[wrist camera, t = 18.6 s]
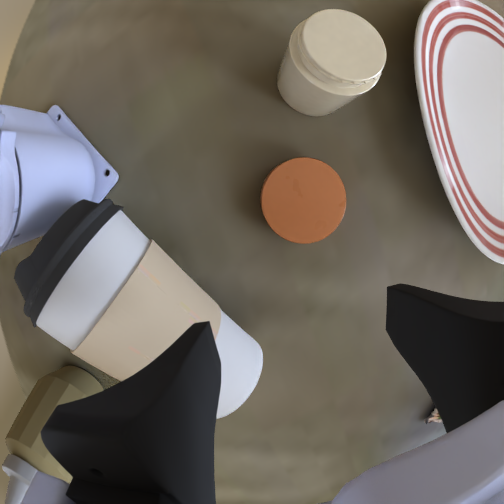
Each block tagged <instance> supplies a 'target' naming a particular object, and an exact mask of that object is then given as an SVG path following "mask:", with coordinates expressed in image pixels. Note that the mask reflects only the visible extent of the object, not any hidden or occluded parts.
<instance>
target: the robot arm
mask: <svg viewBox="0 0 504 504" xmlns="http://www.w3.org/2000/svg"><path fill="white" fill-rule="evenodd" d="M60 115H61V118H60V120H59V116H60ZM107 170H109V172H110V174H109V176H107V175H106V171H107ZM118 178H119V176H118V173H117V172H116V171H115V170H114V169H113V168H112V166H111V165H110V164H109V163H108V162H107V161H106V160H105V159H104V158H103V157H102V155H101V154H100V153H99V152H98V151H97V150H96V149H95V148H94V146H93V145H92V144H91V143H90V142H89V141H88V140H87V139H86V137H85V136H84V135H83V134H82V133H81V132H80V131H79V129H78V128H77V127H76V126H75V125H74V124H73V123H72V121H71V120H70V119H69V118H68V117H67V116H66V114H65V113H64V112H63V111H62V110H61V108H60V107H59V106H57V105H53V106H52V107H51V108H50V109H49V111H48V112H47V114H46V113H42V112H37V111H33V110H28V109H24V108H19V107H14V106H9V105H0V255H1V253H2V252H4V251H6V250H8V249H11V248H13V247H16V246H18V245H20V244H23V243H25V242H28V241H30V240H33V239H35V238H38V237H40V236H43V235H45V234H46V233H47V231H48V230H49V229H50V228H51V227H52V225H53V224H54V223H55V222H56V221H57V220H58V219H59V218H60V217H61V216H62V215H63V214H64V213H65V212H66V211H67V210H68V209H69V208H70V207H71V206H73V205H74V204H75V203H77V202H78V201H80V200H82V199H86V200H89V201H92V202H95V203H100V202H101V201H102V200H103V199H104V197H105V196H106V195H107V194H108V192H109V191H110V190H111V189H112V187H113V186H114V185H115V184H116V183H117V181H118ZM386 331H387V333H388V335H389V336H390V338H391V340H392V342H393V344H394V345H395V347H396V348H397V350H398V351H399V352H400V354H401V355H402V356H403V358H404V359H405V360H406V362H407V363H408V364H409V366H410V367H411V368H412V370H413V371H414V372H415V373H416V375H417V376H418V377H419V379H420V380H421V382H422V383H423V385H424V386H425V388H426V389H427V391H428V393H429V395H430V397H431V399H432V401H433V402H434V404H435V406H436V409H437V411H438V413H439V415H440V417H441V419H442V422H443V424H444V427H445V429H446V432H447V434H445V435H443V436H441V437H439V438H437V439H435V440H433V441H431V442H429V443H426V444H424V445H422V446H420V447H417V448H415V449H413V450H410V451H408V452H405V453H403V454H400V455H398V456H396V457H394V458H392V459H390V460H388V461H385V462H383V463H381V464H379V465H377V466H374V467H372V468H370V469H368V470H366V471H365V472H363V473H362V474H360V475H359V476H357V477H356V478H354V479H353V480H351V481H350V482H348V483H346V484H345V485H344V486H343V488H342V489H341V490H340V492H339V493H338V494H337V496H336V497H335V498H334V499H333V501H328V502H324V503H319V504H504V302H488V301H478V300H470V299H464V298H459V297H454V296H450V295H446V294H442V293H438V292H434V291H430V290H427V289H423V288H419V287H415V286H411V285H406V284H396V285H392V286H388V287H387V315H386ZM220 389H221V360H220V357H219V353H218V350H217V346H216V343H215V339H214V335H213V332H212V328H211V325H210V321H205V322H198V323H194V324H193V325H191V326H190V327H189V328H188V329H187V330H186V331H185V332H184V333H183V334H182V335H181V336H180V337H179V338H178V339H177V340H176V341H175V342H174V343H173V344H172V345H171V346H170V347H169V348H167V349H166V350H165V351H164V352H163V353H162V354H160V355H159V356H158V357H157V358H156V359H155V360H153V361H152V362H151V363H150V364H148V365H147V366H146V367H144V368H143V369H141V370H140V371H138V372H137V373H135V374H134V375H132V376H131V377H129V378H127V379H125V380H123V381H121V382H120V383H118V384H116V385H114V386H112V387H110V388H108V389H106V390H103V391H101V392H99V393H96V394H94V395H91V396H88V397H85V398H82V399H79V400H75V401H72V402H68V403H65V404H60V405H57V406H56V408H55V409H54V411H53V412H52V414H51V415H50V417H49V419H48V420H47V422H46V423H45V425H44V427H43V428H42V430H41V432H40V433H41V439H42V441H43V443H44V445H45V447H46V448H47V450H48V451H49V452H50V454H51V455H52V456H53V457H54V458H55V459H56V460H57V461H58V462H59V463H60V465H61V466H62V467H63V468H64V469H65V470H66V471H67V472H68V473H69V474H70V475H71V476H72V477H73V479H72V481H71V483H70V484H69V483H67V482H65V481H64V480H62V479H59V478H57V477H54V476H51V475H48V474H45V473H43V472H40V471H37V472H36V474H35V476H34V478H33V480H32V482H31V484H30V485H29V487H28V489H27V491H26V493H25V495H24V498H23V500H22V502H21V504H216V499H215V481H214V432H215V423H216V416H217V410H218V403H219V396H220Z"/></svg>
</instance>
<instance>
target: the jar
mask: <svg viewBox="0 0 504 504" xmlns="http://www.w3.org/2000/svg"><path fill="white" fill-rule="evenodd" d="M385 62H386V48H385V45H384V42H383V40H382V38H381V36H380V34H379V33H378V32H377V30H376V29H375V28H374V27H373V26H372V25H371V24H370V23H369V22H368V21H366V20H365V19H363V18H362V17H360V16H358V15H356V14H354V13H352V12H349V11H345V10H340V9H326V10H322V11H319V12H316V13H314V14H313V15H311V16H310V17H309V18H308V19H306V20H304V21H302V22H301V23H300V24H298V25H297V27H296V28H295V29H294V31H293V32H292V34H291V37H290V40H289V42H288V45H287V48H286V51H285V54H284V57H283V59H282V62H281V65H280V68H279V71H278V75H277V85H278V89H279V92H280V94H281V96H282V98H283V99H284V100H285V102H286V103H287V104H288V105H289V106H291V107H292V108H293V109H295V110H296V111H298V112H300V113H302V114H305V115H309V116H326V115H329V114H332V113H334V112H336V111H337V110H339V109H340V108H342V107H343V106H345V105H346V104H348V103H349V102H351V101H353V100H354V99H356V98H357V97H359V96H360V95H362V94H364V93H365V92H367V91H368V90H370V89H371V88H372V87H373V86H374V85H375V84H376V83H377V81H378V80H379V78H380V75H381V74H382V73H381V71H382V69H383V68H384V66H385Z"/></svg>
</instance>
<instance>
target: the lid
mask: <svg viewBox="0 0 504 504" xmlns="http://www.w3.org/2000/svg"><path fill="white" fill-rule="evenodd" d="M260 204H261V209H262V212H263V215H264V217H265V219H266V221H267V223H268V224H269V226H270V227H271V228H272V230H273V231H274V232H275V233H277V234H278V235H279V236H281V237H282V238H284V239H286V240H288V241H291V242H295V243H301V244H305V243H313V242H317V241H319V240H322V239H324V238H325V237H327V236H328V235H330V234H331V233H332V232H333V231H334V230H335V229H336V228H337V226H338V225H339V224H340V222H341V220H342V218H343V216H344V212H345V208H346V193H345V188H344V185H343V183H342V181H341V179H340V177H339V176H338V174H337V173H336V172H335V171H334V170H333V169H332V168H331V167H330V166H329V165H327V164H326V163H324V162H322V161H320V160H317V159H314V158H307V157H301V158H294V159H291V160H288V161H285V162H283V163H281V164H279V165H278V166H276V167H275V168H274V169H273V170H272V171H271V172H270V173H269V174H268V175H267V177H266V179H265V180H264V183H263V185H262V188H261V194H260Z"/></svg>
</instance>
